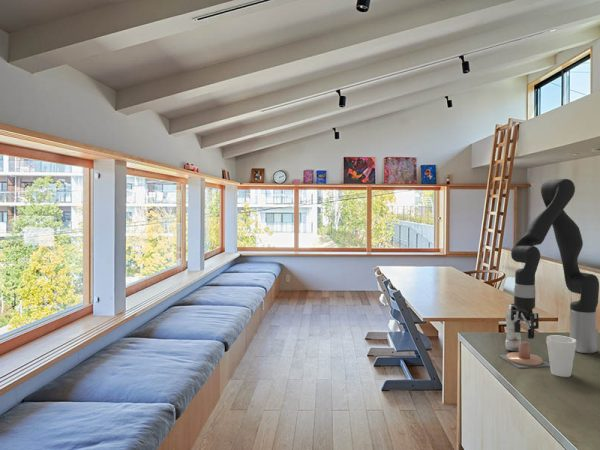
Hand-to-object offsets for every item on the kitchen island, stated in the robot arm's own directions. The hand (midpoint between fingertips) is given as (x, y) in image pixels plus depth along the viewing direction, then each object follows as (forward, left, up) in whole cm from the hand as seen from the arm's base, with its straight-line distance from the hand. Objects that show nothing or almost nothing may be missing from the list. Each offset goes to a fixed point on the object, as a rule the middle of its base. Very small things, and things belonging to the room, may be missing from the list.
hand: (523, 335), depth 173 cm
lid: (0, 0, -10) cm, 10 cm away
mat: (0, 0, -10) cm, 10 cm away
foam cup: (-5, +14, -11) cm, 18 cm away
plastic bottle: (-3, -12, -11) cm, 16 cm away
